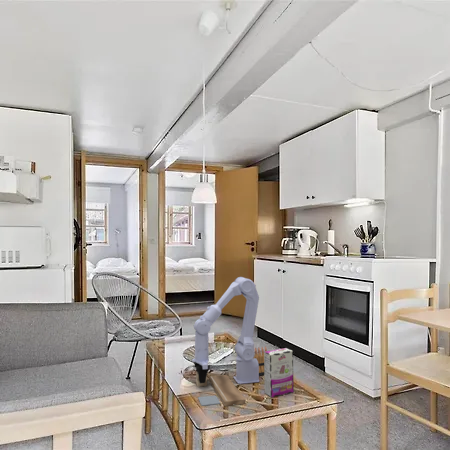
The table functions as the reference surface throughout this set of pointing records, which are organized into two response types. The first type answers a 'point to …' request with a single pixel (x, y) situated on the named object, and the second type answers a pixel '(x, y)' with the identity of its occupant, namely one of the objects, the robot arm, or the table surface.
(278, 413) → the table surface
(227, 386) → the walnut board
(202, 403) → the slate mat
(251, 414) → the table surface
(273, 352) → the candy bar box
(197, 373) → the block
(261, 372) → the ammunition clip
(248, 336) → the robot arm
